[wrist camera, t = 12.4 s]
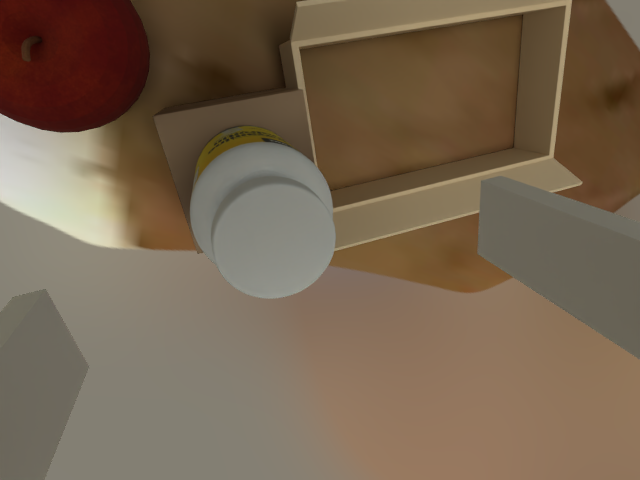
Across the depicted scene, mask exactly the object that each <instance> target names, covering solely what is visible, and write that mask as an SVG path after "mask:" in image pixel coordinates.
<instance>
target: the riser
mask: <svg viewBox="0 0 640 480" xmlns="http://www.w3.org/2000/svg"><path fill="white" fill-rule="evenodd" d="M153 119H154V122H155V125H156V128H157V131H158V135H159V138H160V141H161V144H162V147H163V150H164V153H165V156H166V159H167V162H168V165H169V168H170V171H171V174H172V177H173V180H174V183H175V186H176V189H177V192H178V195H179V199H180V202H181V205H182V208H183V211H184V214H185V217H186V220H187V223H188V226H189V229H190V232H191V235H192V238H193V241H194V244H195V247H196V250H197V253H198V254H199V253H203V251H202V249H201V248H200V246H199V245H198V243H197V241H196V239H195V236H194V233H193V230H192V227H191V220H190V202H191V195H192V189H193V182H194V176H195V170H196V165H197V162H198V158H199V156H200V154H201V152H202V150H203V148H204V147H205V146H206V144H207V143H208V142H209V141H210V140H211V139H212V138H213V137H214V136H215V135H217V134H218V133H220V132H222V131H224V130H226V129H229V128H232V127H235V126H242V125H251V126H258V127H262V128H265V129H267V130H270V131H272V132H274V133H275V134H277V135H278V136H280V137H281V138H282V139H284V140H285V141H286V142H288V143H289V144H290V145H292V146H293V147H294V148H296V149H297V150H298V151H299V152H301V153H302V154H303V155H305V156H306V157H307V158H308V159H310V160H311V161H312V162H313V163H314V157H313V150H312V144H311V138H310V131H309V125H308V118H307V112H306V106H305V99H304V93H303V89H290V88H276V89H270V90H264V91H259V92H253V93H247V94H242V95H236V96H230V97H225V98H219V99H213V100H207V101H202V102H196V103H190V104H185V105H179V106H173V107H168V108H165V109H163V110H162V111H160V112H158V113H157V114H155V115H154V116H153ZM314 164H315V163H314Z"/></svg>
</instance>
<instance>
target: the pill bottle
mask: <svg viewBox="0 0 640 480" xmlns="http://www.w3.org/2000/svg"><path fill="white" fill-rule="evenodd" d="M190 220H191V227H192V230H193V233H194V236H195V239H196V241H197V243H198V245H199V246H200V248H201V249H202V251H203V252H204V253H205V255H206V256H207V257H208V258H209V259H210V260H211V261H212V262H213V263H214V264H216V265H217V268H218V269H219V271H220V273H221V274H222V276H223V277H224V278H225V279H226V280H227V281H228V283H229V284H231V285H232V286H233V287H235V288H236V289H238V290H239V291H241V292H243V293H245V294H248V295H251V296H254V297H259V298H273V299H274V298H282V297H286V296H290V295H292V294H295V293H298V292H300V291H302V290H304V289H305V288H307V287H308V286H310V285H311V284H312V283H314V282H315V281H316V280H317V279H318V278H319V277H320V276H321V274H322V273H323V272H324V270H325V269H326V267H327V266H328V264H329V263H330V261H331V258H332V256H333V253H334V248H335V242H336V232H335V226H334V222H333V203H332V197H331V193H330V189H329V187H328V184H327V182H326V180H325V178H324V176H323V175H322V173H321V172H320V170H319V169H318V168H317V167H316V166H315V164H314V163H313V162H312V161H311V160H310V159H308V158H307V157H306V156H305V155H303V154H302V153H301V152H299V151H298V150H297V149H296V148H294V147H293V146H292V145H290V144H289V143H288V142H286V141H285V140H284V139H282V138H281V137H280V136H278V135H277V134H275V133H274V132H272V131H270V130H267V129H265V128H262V127H258V126H251V125H242V126H235V127H232V128H229V129H226V130H224V131H222V132H220V133H218V134H217V135H215V136H214V137H213V138H212V139H211V140H210V141H209V142H208V143H207V144H206V146H205V147H204V148H203V150H202V152H201V154H200V156H199V158H198V162H197V165H196V170H195V176H194V182H193V189H192V195H191V202H190Z"/></svg>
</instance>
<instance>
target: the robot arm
mask: <svg viewBox="0 0 640 480" xmlns="http://www.w3.org/2000/svg"><path fill="white" fill-rule="evenodd" d="M478 254H479V255H480V256H482V257H483V258H485V259H486V260H488V261H489V262H491V263H492V264H494V265H495V266H497V267H499V268H500V269H502V270H503V271H505V272H506V273H508V274H509V275H511V276H512V277H514V278H515V279H517V280H519V281H520V282H522V283H523V284H525V285H526V286H528V287H529V288H531V289H532V290H534V291H535V292H537V293H538V294H540V295H542V296H543V297H545V298H546V299H548V300H549V301H551V302H552V303H554V304H555V305H557V306H558V307H560V308H562V309H563V310H565V311H566V312H568V313H569V314H571V315H572V316H574V317H575V318H577V319H578V320H580V321H581V322H583V323H585V324H586V325H588V326H589V327H591V328H592V329H594V330H595V331H597V332H598V333H600V334H602V335H603V336H604V337H606V338H608V339H609V340H611V341H612V342H614V343H615V344H617V345H619V346H620V347H621V348H623V349H625V350H626V351H628V352H629V353H631V354H632V355H634V356H635V357H637V358H638V359H640V222H638V221H635V220H632V219H629V218H626V217H623V216H620V215H617V214H614V213H611V212H608V211H605V210H602V209H599V208H596V207H593V206H590V205H587V204H584V203H581V202H578V201H575V200H572V199H569V198H566V197H563V196H560V195H557V194H554V193H551V192H548V191H545V190H542V189H540V188H537V187H534V186H531V185H528V184H525V183H522V182H519V181H516V180H513V179H510V178H507V177H504V176H497V177H493V178H489V179H485V180H481V190H480V212H479V234H478ZM88 368H89V366H88V364H87V362H86V360H85V358H84V357H83V355H82V353H81V351H80V349H79V348H78V346H77V344H76V342H75V341H74V339H73V337H72V335H71V333H70V332H69V330H68V328H67V326H66V325H65V323H64V321H63V319H62V317H61V316H60V314H59V312H58V310H57V309H56V307H55V305H54V303H53V301H52V300H51V298H50V296H49V294H48V292H47V291H46V289H43V290H39V291H35V292H31V293H27V294H23V295H19V296H15V297H13V298H12V299H11V300H10V301H9V303H8V304H7V305H6V306H5V307H4V308H3V310H2V311H1V312H0V480H44V479H45V476H46V474H47V471H48V469H49V466H50V464H51V462H52V459H53V457H54V454H55V451H56V449H57V446H58V444H59V441H60V439H61V436H62V434H63V431H64V429H65V426H66V424H67V421H68V419H69V416H70V414H71V411H72V409H73V406H74V404H75V401H76V398H77V396H78V394H79V391H80V389H81V386H82V383H83V381H84V378H85V376H86V373H87V371H88Z"/></svg>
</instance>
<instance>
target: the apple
mask: <svg viewBox="0 0 640 480" xmlns="http://www.w3.org/2000/svg"><path fill="white" fill-rule="evenodd" d="M149 60H150V52H149V46H148V40H147V35H146V33H145V30H144V27H143V24H142V21H141V19H140V17H139V15H138V13H137V12H136V10H135V8H134V6H133V5H132V3H131V1H130V0H0V113H1V114H3V115H5V116H7V117H9V118H11V119H13V120H15V121H17V122H20V123H23V124H26V125H29V126H32V127H35V128H38V129H42V130H48V131H54V132H80V131H85V130H89V129H93V128H97V127H101V126H103V125H105V124H107V123H110V122H112V121H114V120H116V119H117V118H118V117H120V116H121V115H123V114H124V113H125V112H127V111H128V110H129V109H130V107H131V106H132V105H133V104H134V103H135V102H136V101H137V99H138V98H139V96H140V94H141V92H142V90H143V88H144V86H145V83H146V80H147V76H148V72H149Z"/></svg>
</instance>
